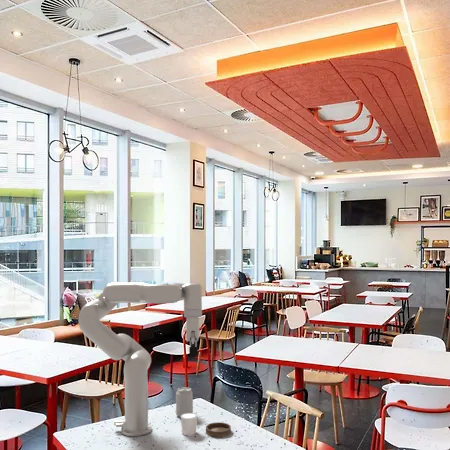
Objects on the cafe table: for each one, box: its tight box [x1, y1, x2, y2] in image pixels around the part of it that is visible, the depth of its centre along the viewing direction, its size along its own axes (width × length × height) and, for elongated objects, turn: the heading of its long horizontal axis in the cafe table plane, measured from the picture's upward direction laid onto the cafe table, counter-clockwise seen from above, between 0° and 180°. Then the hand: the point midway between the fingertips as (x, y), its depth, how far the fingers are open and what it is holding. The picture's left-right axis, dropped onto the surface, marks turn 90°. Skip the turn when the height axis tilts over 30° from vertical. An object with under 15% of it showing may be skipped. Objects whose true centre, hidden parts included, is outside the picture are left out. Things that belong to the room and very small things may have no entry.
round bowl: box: [205, 422, 232, 438], centre depth 200 cm, size 10×10×2 cm
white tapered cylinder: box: [180, 412, 198, 436], centre depth 200 cm, size 7×7×7 cm
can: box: [175, 386, 194, 419], centre depth 220 cm, size 8×8×12 cm
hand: (193, 354), depth 203 cm, fingers open, 9 cm apart
